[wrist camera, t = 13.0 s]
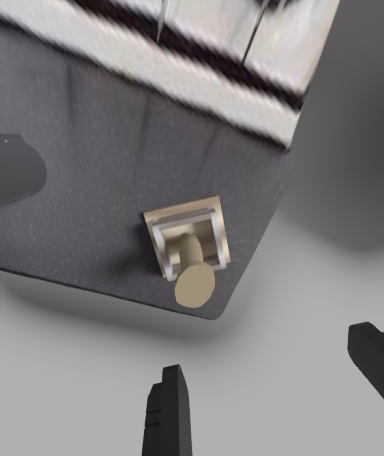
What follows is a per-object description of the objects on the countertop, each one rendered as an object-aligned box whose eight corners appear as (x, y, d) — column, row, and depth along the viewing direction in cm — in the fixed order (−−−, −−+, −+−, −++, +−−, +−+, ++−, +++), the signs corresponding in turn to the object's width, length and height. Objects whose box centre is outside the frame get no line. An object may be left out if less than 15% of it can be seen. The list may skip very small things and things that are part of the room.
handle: (206, 227, 41) (221, 270, 27) (195, 256, 43) (204, 310, 29) (181, 221, 40) (183, 261, 26) (172, 251, 42) (169, 303, 28)
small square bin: (144, 211, 40) (140, 220, 35) (217, 194, 40) (223, 201, 35) (163, 274, 45) (162, 289, 40) (229, 259, 45) (235, 272, 40)
